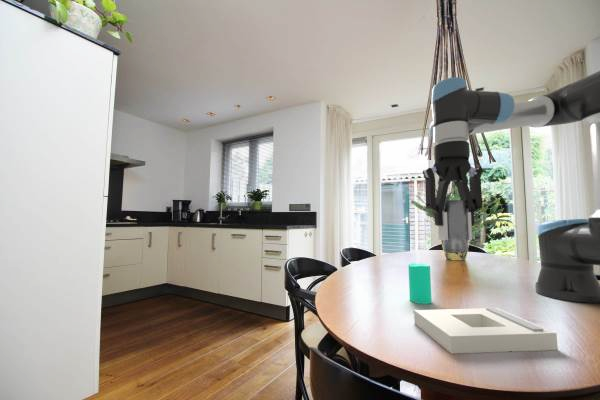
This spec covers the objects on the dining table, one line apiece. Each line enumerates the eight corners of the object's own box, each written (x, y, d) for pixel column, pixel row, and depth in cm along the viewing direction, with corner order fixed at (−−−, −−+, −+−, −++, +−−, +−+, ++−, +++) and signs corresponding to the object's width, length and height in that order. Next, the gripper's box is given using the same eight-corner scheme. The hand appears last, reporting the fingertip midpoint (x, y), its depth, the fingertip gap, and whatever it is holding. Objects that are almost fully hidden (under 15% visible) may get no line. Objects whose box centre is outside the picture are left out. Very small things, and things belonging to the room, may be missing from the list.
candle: (434, 304, 76) (432, 261, 77) (411, 303, 77) (410, 260, 78) (428, 298, 82) (427, 258, 83) (407, 297, 83) (406, 257, 84)
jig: (498, 321, 63) (497, 306, 63) (557, 349, 49) (556, 330, 49) (414, 323, 62) (413, 308, 62) (451, 353, 48) (450, 333, 48)
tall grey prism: (459, 249, 66) (457, 201, 67) (473, 252, 61) (470, 200, 62) (439, 250, 66) (437, 201, 67) (451, 252, 61) (449, 200, 62)
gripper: (476, 147, 70) (481, 238, 68) (407, 147, 69) (410, 238, 67) (498, 139, 62) (504, 240, 60) (421, 139, 62) (425, 241, 60)
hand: (455, 239), depth 64 cm, fingers closed on tall grey prism, 5 cm apart
